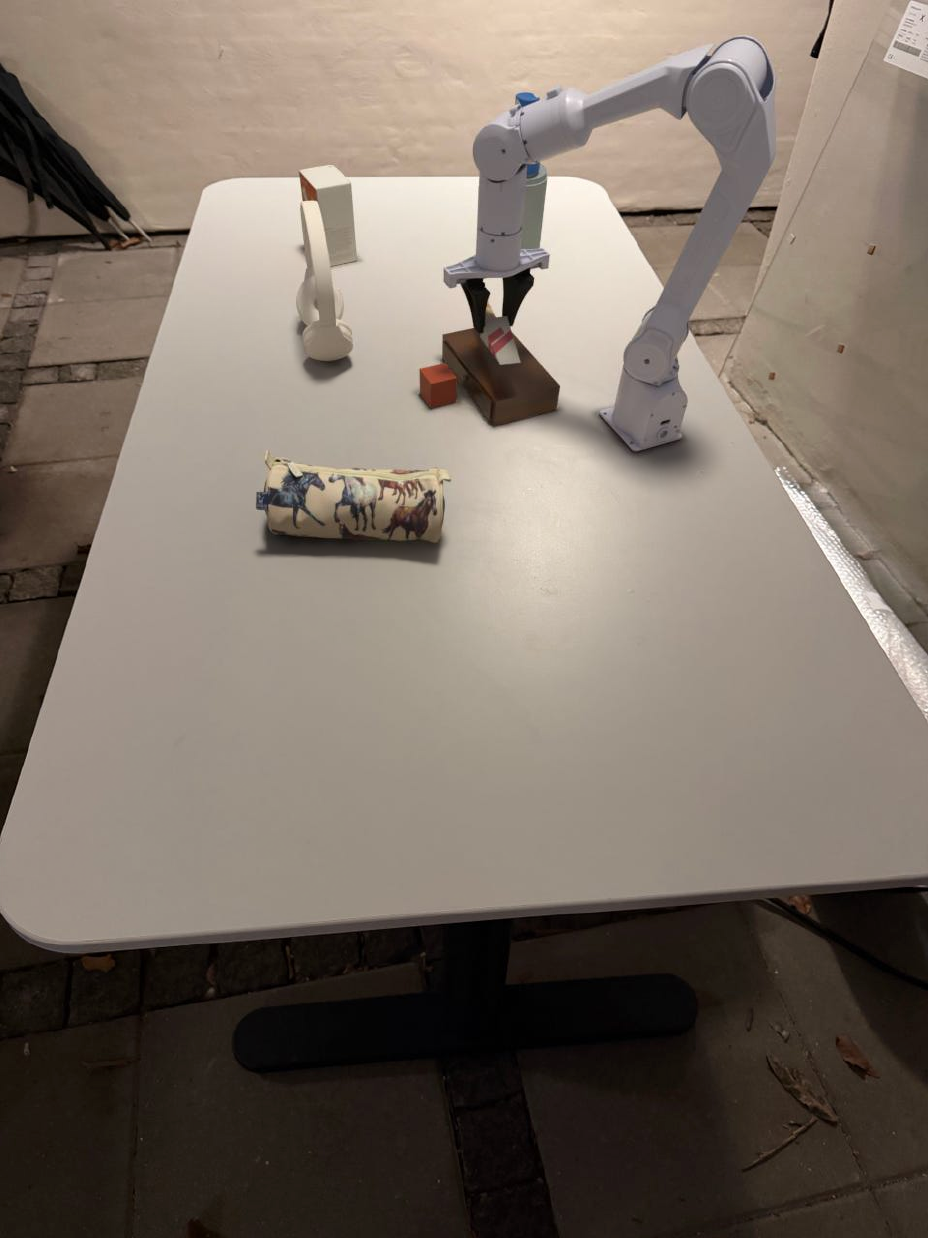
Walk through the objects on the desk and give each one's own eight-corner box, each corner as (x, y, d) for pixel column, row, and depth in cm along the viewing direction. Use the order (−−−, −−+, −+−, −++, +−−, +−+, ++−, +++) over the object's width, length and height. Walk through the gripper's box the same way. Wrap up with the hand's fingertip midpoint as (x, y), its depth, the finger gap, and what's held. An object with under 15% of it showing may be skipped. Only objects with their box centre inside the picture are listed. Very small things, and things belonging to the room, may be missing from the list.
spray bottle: (502, 272, 135) (515, 108, 116) (480, 249, 140) (489, 88, 121) (547, 263, 138) (566, 101, 118) (524, 241, 143) (539, 82, 123)
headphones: (309, 380, 113) (290, 242, 97) (297, 315, 124) (278, 181, 108) (358, 375, 114) (347, 238, 98) (341, 311, 125) (329, 178, 110)
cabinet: (556, 409, 110) (560, 385, 107) (488, 427, 107) (490, 403, 104) (500, 344, 120) (502, 321, 117) (437, 359, 117) (437, 335, 114)
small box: (307, 247, 138) (297, 169, 128) (340, 241, 140) (333, 163, 130) (324, 268, 134) (315, 188, 124) (358, 261, 136) (352, 181, 126)
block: (457, 377, 108) (430, 383, 106) (456, 401, 111) (430, 408, 109) (445, 362, 110) (419, 368, 109) (444, 386, 113) (419, 393, 112)
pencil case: (262, 550, 91) (247, 486, 83) (276, 500, 96) (263, 437, 89) (448, 559, 91) (449, 496, 84) (451, 509, 96) (453, 446, 89)
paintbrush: (496, 354, 100) (465, 284, 113) (495, 373, 102) (465, 303, 115) (525, 351, 100) (491, 282, 113) (523, 370, 102) (490, 300, 115)
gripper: (535, 203, 101) (526, 302, 112) (433, 221, 97) (433, 322, 107) (562, 226, 97) (549, 326, 108) (457, 246, 93) (455, 348, 104)
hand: (493, 326), depth 107 cm, fingers closed on paintbrush, 4 cm apart
